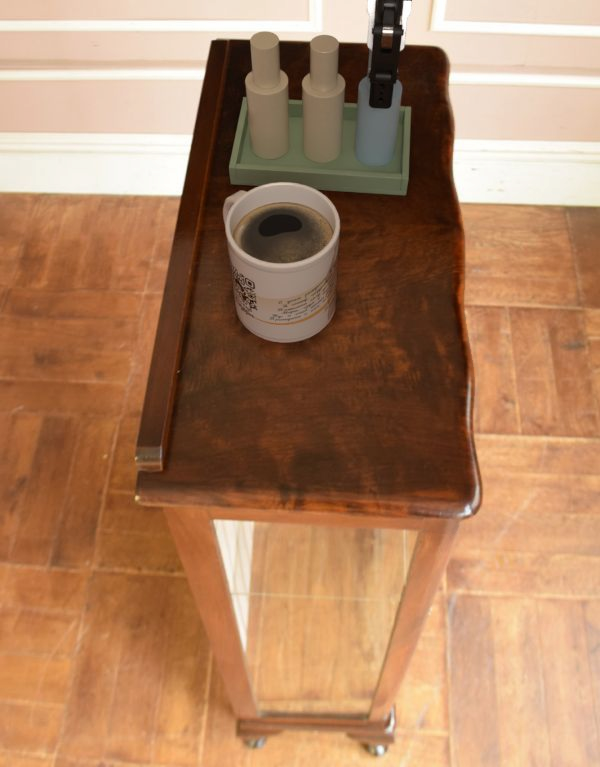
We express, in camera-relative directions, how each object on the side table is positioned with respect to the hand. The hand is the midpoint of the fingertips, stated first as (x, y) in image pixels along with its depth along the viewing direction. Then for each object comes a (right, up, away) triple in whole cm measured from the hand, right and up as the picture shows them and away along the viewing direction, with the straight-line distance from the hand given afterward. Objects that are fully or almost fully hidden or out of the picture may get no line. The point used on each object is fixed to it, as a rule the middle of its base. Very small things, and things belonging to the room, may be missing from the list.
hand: (381, 82), depth 78 cm
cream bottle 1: (-12, -4, +8) cm, 15 cm away
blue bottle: (0, -5, +8) cm, 9 cm away
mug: (-10, -21, -2) cm, 24 cm away
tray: (-6, -5, +9) cm, 11 cm away
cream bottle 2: (-6, -4, +8) cm, 11 cm away
